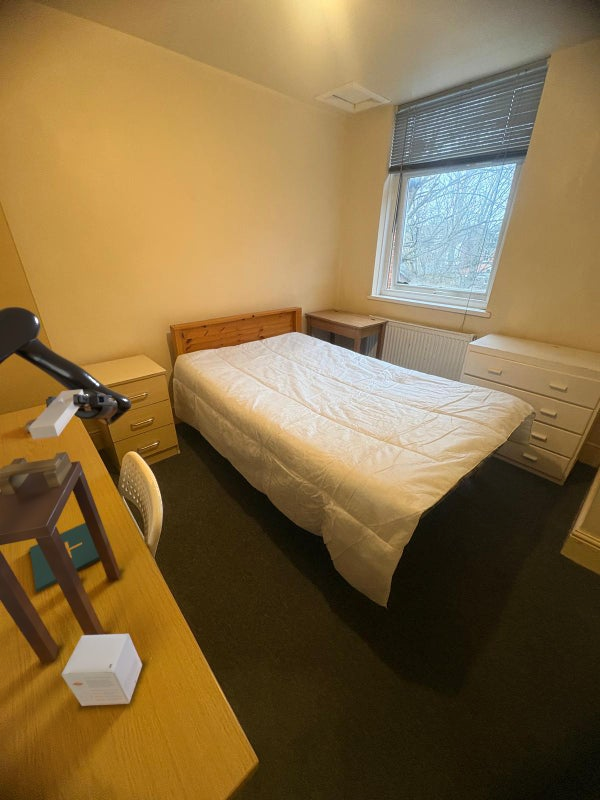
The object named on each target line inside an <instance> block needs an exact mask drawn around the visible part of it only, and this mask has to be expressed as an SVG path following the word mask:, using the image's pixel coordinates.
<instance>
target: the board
mask: <svg viewBox="0 0 600 800" xmlns="http://www.w3.org/2000/svg"><path fill="white" fill-rule="evenodd" d="M60 536H61V538H62V540H63V542H64V544H65V547H66V549H67V551H68V553H69V555H70V557H71V560H72V562H73V564H74V566H75V568H76V571H77V572H79V571H81V570H82V569H85V568H87V567H89V566H90V565H93V564H94V563H96V562H98V561H101V560H100V558H99V555H98V553H97V550H96V548H95V545H94V543H93V540H92V538H91V535H90V533H89V530H88V528H87V525H86V523H85V522H83V523H81V524H79V525H77V526H75V527H72V528H70V529H68V530H66V531H63V532H62V533H60ZM29 552H30V559H31V566H32V567H31V568H32V570H33V571H32V572H33V579H34V586H35V590H36V592H37V593H39V592H41V591H43V590H44V589H46V588H49V587H50V586H52V585H54V584H56V583H58V582H57V580H56V578H55V576H54V574H53V572H52V570H51V568H50V567H49V565H48V563H47V561H46V559H45V557H44V555H43V553H42V551H41V549H40V547H39V545H38V543H37V544H35V545H33V546H31V547H29Z"/></svg>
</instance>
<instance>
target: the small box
mask: <svg viewBox="0 0 600 800" xmlns="http://www.w3.org/2000/svg"><path fill="white" fill-rule="evenodd" d="M142 667H143V663H142V661H141V658H140V657H139V654H138V651H137V648H136V647H135V645H134V642H133V640H132V638H131V636H130V634H129V633H105V634H104V635H84V634H82V635H81V636H80V638H79V640H78V641H77V644H76V646H75V647H74V649H73V652H72V653H71V655H70V657H69V659H68V661H67V663H66V664H65V667H63V670H62V672H61V673H60V674H61V677H62V678H63V680H64V682H65V683H66V684H67V686H68V688H69V689H70V691H71V692H72V693H73V695H74V697H75V698H76V699H77V702H79V704H80V706H82V707H86V706H106V705H128V704H130V702H131V700H132V697H133V694H134V691H135V688H136V685H137V682H138V679H139V677H140V673H141V672H142V671H141V670H142Z"/></svg>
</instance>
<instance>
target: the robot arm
mask: <svg viewBox="0 0 600 800" xmlns="http://www.w3.org/2000/svg"><path fill="white" fill-rule="evenodd" d="M41 328H42V327H41V321H40V319H39V318H38V316H37V315H36V314H35V313H34V312H32V311H31V310H29V309H27V308H24V307H20V306H8V307H4V308H1V309H0V365H2V363H4V362H5V361H6V360H8V359H9V358H10V357H11V356H13V355H16V356H18V357H20V358H21V359H23V360H24V361H27V362H28V363H30V364H31V365H33V366H34V367H36V368H38V369H39V370H40V371H42V372H44V373H45V374H47V375H48V376H49V377H51V378H52V379H54V380H55V381H56V382H57V383H58V384H60V385H61V386H63V387H64V388H65V389H67V391H69V390H80V389H82V390H83V393H84V395H80V394H74V395H73V399H74V404H75V405H81V406H80V407H79V408H78V410H77V411H76V413H75V414H74V415H73V416H75V417H77V418H78V419H81V420H91V421H92V420H94V421H98V422H100V423H101V424H103V425H105V426H110V425H113V424H115V422H117V421H118V420H119V419H121V418H122V416H124V415H125V414H126V413H127V412H129V411H130V410H131V408H132V402H131V399H129V397H128V396H126V395H125V394H123V393H121V392H119V391H116V390H114V389H112V388H110V387H108V386H107V385H105V384H103V383H102V382H100V380H98V379H97V378H96V377H94V376H93V375H92V374H91V373H90V372H89V371H87V370H86V369H84V367H82V366H80V365H79V364H77V363H75V362H73V361H71V360H70V359H68V358H67V357H64V356H62V355H60V354H59V353H57V352H56V351H54V350H52V349H51V348H50V347H48V346H47V345H46V344H44V343H43V342H42V340H40V339H39V338H38V337H39V335H40V333H41ZM56 397H57V396H53V395H52V396H48V397H47V398H46V399H45V404H46V408H47V407H48V406H49V405H50V404H51V403H52V402H53V401H54V400H55V399H56Z"/></svg>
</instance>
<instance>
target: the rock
mask: <svg viewBox="0 0 600 800" xmlns="http://www.w3.org/2000/svg"><path fill="white" fill-rule="evenodd" d="M37 418H38V417H35V418H34V419H31V420H29V421H27V422H26V423H25V425H24V427H23V428H24V430H25V431H26V432H27V433H30V431H29V429H28V428H29V427H30V426H31V424H32V423H33V422H34V421H35V420H36V419H37Z"/></svg>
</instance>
